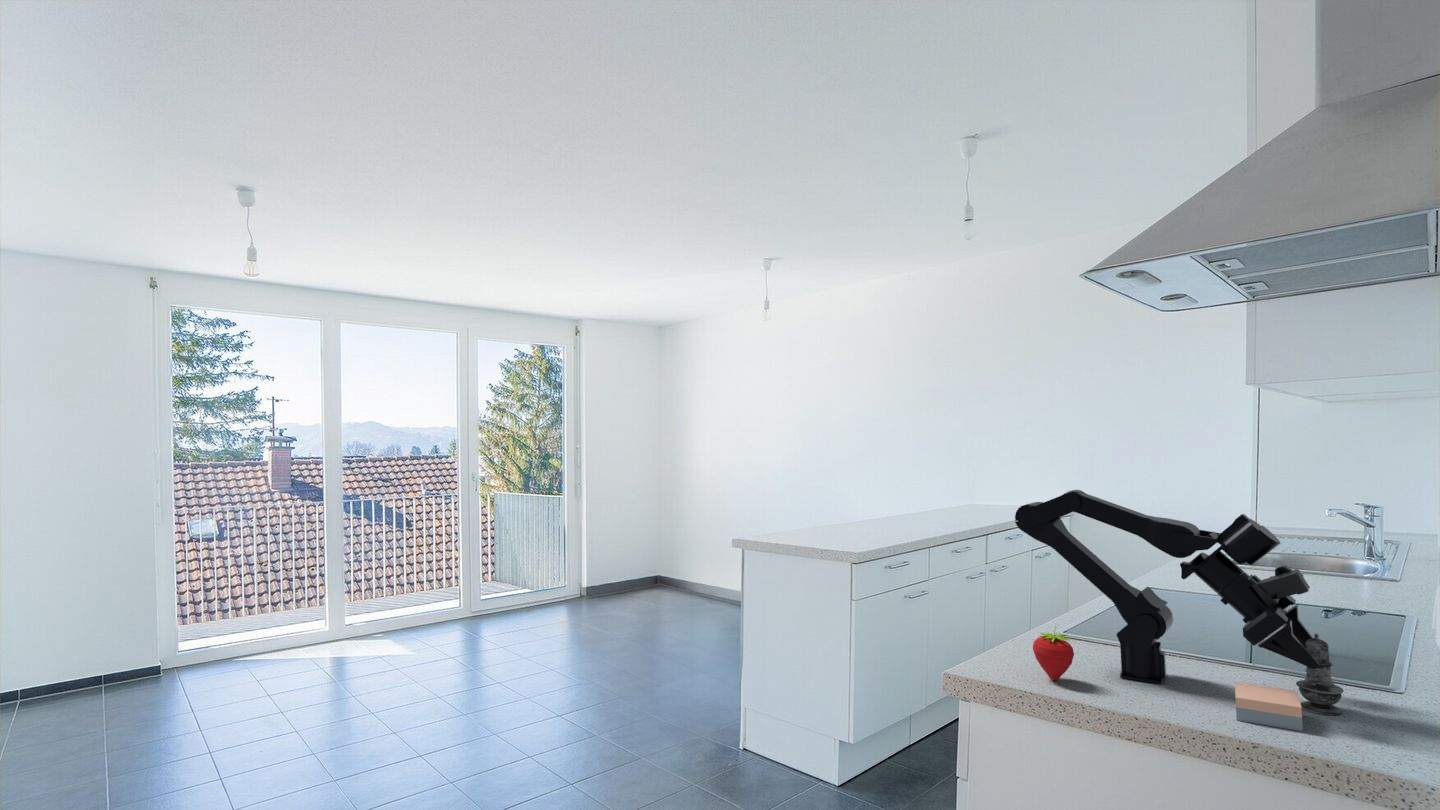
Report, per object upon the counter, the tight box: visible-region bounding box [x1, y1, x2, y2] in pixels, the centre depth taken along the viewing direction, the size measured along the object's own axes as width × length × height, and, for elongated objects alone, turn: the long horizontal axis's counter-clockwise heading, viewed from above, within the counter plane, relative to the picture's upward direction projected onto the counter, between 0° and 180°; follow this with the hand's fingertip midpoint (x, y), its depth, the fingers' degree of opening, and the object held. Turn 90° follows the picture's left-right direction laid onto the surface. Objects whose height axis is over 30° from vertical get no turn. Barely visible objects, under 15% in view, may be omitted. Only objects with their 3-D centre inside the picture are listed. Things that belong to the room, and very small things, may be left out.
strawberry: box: [1032, 625, 1075, 681], centre depth 131 cm, size 6×8×10 cm
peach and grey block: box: [1234, 681, 1304, 732], centre depth 113 cm, size 8×8×4 cm
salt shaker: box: [1295, 632, 1345, 717], centre depth 115 cm, size 6×6×12 cm
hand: (1318, 659), depth 115 cm, fingers open, 9 cm apart
